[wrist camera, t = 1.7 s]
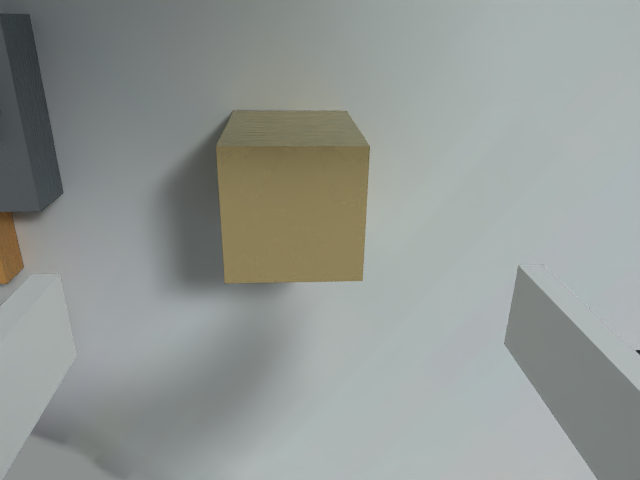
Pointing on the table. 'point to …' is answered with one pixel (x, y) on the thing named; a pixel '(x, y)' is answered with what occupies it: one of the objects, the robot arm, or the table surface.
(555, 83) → the table surface
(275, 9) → the table surface
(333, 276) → the tan rectangular block
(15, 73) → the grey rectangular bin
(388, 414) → the table surface
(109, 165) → the table surface
